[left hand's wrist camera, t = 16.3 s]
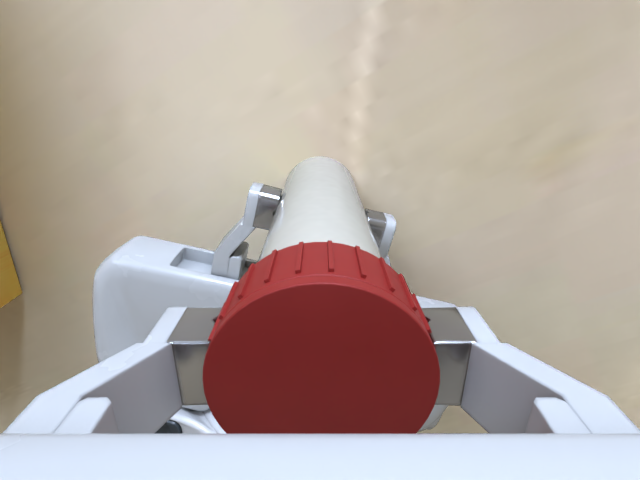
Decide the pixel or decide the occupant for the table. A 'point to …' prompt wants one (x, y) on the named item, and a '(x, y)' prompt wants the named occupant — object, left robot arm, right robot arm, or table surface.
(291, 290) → the lid
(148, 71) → the table surface
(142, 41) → the table surface
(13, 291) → the bread
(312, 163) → the white cylindrical bottle
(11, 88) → the table surface
